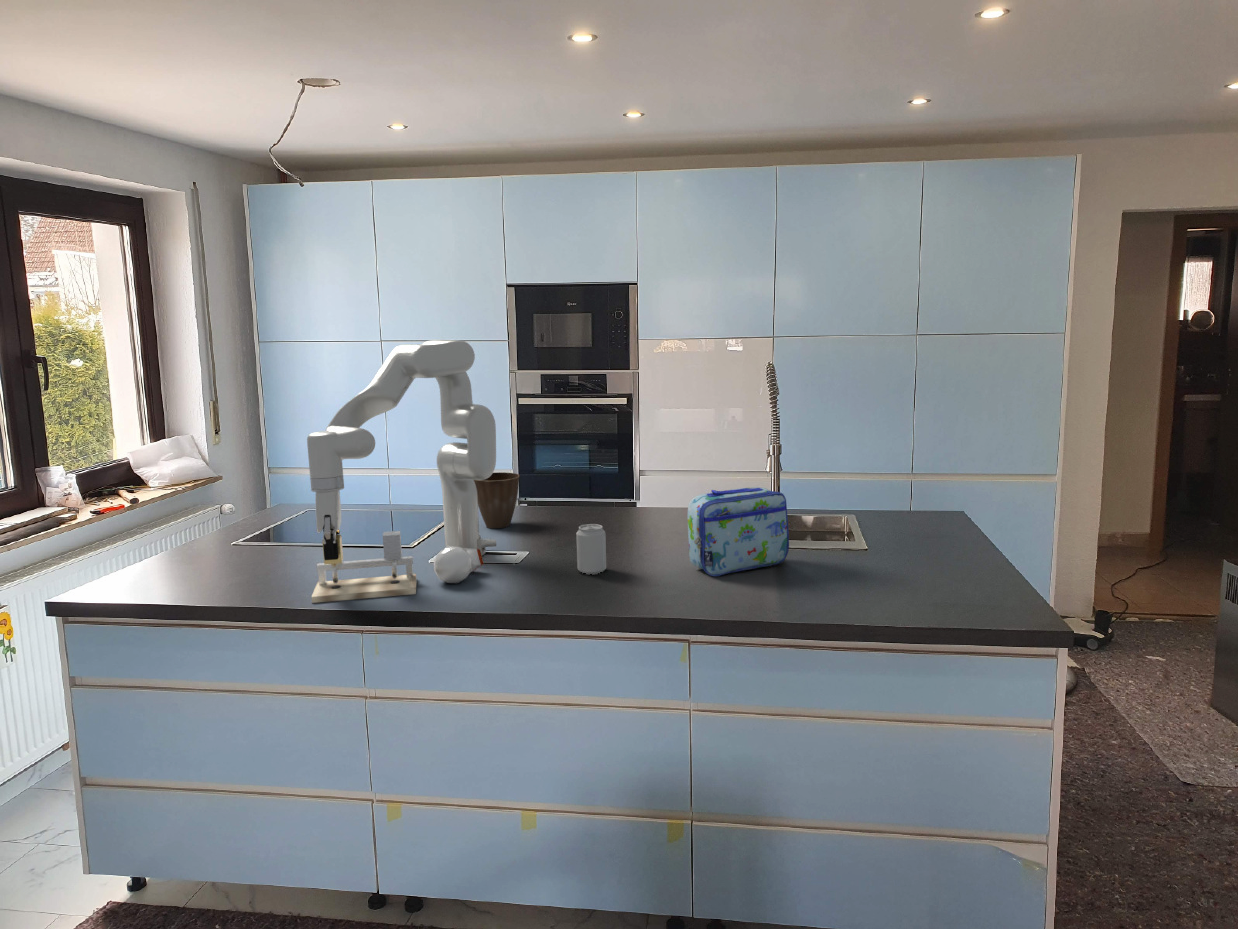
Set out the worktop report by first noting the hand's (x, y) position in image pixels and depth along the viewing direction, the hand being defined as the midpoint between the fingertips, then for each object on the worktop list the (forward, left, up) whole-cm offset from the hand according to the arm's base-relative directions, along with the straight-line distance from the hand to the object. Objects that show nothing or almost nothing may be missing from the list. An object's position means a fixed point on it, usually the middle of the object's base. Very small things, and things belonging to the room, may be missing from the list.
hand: (333, 554), depth 213 cm
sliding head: (0, -2, -7) cm, 7 cm away
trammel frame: (-7, -2, -8) cm, 11 cm away
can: (-63, 0, -10) cm, 64 cm away
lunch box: (-100, +8, -10) cm, 101 cm away
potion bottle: (-30, -4, -10) cm, 31 cm away
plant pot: (-43, -57, -10) cm, 73 cm away
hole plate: (-7, 0, -10) cm, 12 cm away
